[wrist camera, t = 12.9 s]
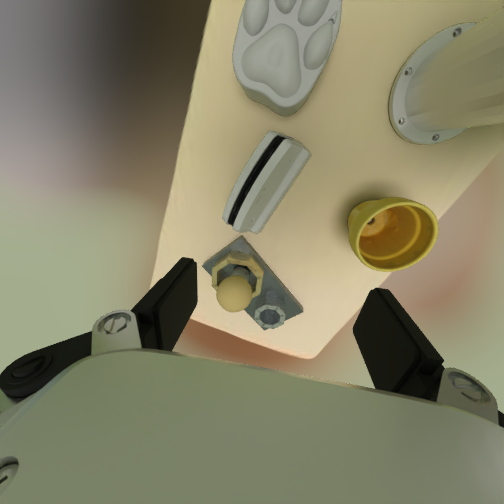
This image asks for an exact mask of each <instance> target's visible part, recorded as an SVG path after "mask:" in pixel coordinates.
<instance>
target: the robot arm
mask: <svg viewBox="0 0 504 504" xmlns="http://www.w3.org/2000/svg"><path fill="white" fill-rule="evenodd" d="M453 35H454V36H453ZM405 72H406V73H407V74H406V75H405ZM389 115H390V121H391V123H392V126H393V128H394V130H395V131H396V132H397V134H398V135H399V136H401V137H402V138H403V139H404V140H406V141H409V142H411V143H415V144H435V143H439V142H442V141H446V140H448V139H450V138H453V137H455V136H457V135H458V134H460V133H461V132H463V131H464V130H466V129H467V128H468V127H475V126H484V125H492V124H500V123H504V7H502V8H501V9H499V10H498V11H496V12H494V13H493V14H491V15H490V16H488V17H487V18H485V19H484V20H482V21H481V22H479V23H473V22H472V23H461V24H457V25H454V26H451V27H448V28H446V29H444V30H442V31H440V32H438V33H437V34H435V35H434V36H432V37H431V38H430V39H428V40H427V41H426V42H424V43H423V44H422V45H421V46H420V47H418V48H417V49H416V50H415V52H414V53H413V54H412V55H411V56H410V57H409V58H408V59H407V61H406V62H405V64H404V65H403V67H402V68H401V70H400V72H399V73H398V75H397V77H396V79H395V82H394V85H393V87H392V90H391V95H390V100H389ZM399 120H400V123H399V124H398V121H399ZM432 137H433V139H432ZM197 301H198V297H197V263H196V262H194V260H193V259H191V258H185V257H182V258H181V259H180V260H179V261H178V262H177V263H176V264H175V265H174V267H173V268H172V269H171V270H170V271H169V272H168V273H167V274H166V275H165V276H164V277H163V278H161V279H160V280H159V281H158V282H157V283H156V284H155V285H154V286H153V287H152V288H151V289H150V290H149V291H148V293H147V294H146V295H145V296H144V297H143V298H142V299H141V300H140V301H139V302H138V303H137V304H136V305H135V306H134V308H133V309H132V310H131V311H129V310H116V311H112V312H110V313H107V314H106V315H104V316H102V317H100V318H99V319H98V320H97V321H96V322H95V324H94V325H93V329H92V331H91V332H88V333H85V334H82V335H79V336H76V337H73V338H70V339H68V340H65V341H62V342H59V343H56V344H53V345H50V346H48V347H45V348H42V349H39V350H36V351H33V352H31V353H28V354H26V355H24V356H22V357H21V358H19V359H17V360H15V361H14V362H13V363H11V364H10V365H9V366H7V367H6V369H5V370H4V371H3V372H2V373H1V374H0V504H504V414H503V413H501V412H500V411H498V407H497V402H496V399H495V398H494V396H493V394H492V393H491V392H490V391H489V390H488V389H487V388H486V387H485V386H484V385H483V384H482V383H481V382H480V381H478V380H477V379H475V378H474V377H472V376H471V375H470V374H468V373H466V372H464V371H462V370H458V369H456V368H446V369H445V368H444V367H443V366H442V363H443V362H444V359H443V358H442V357H441V356H440V354H439V353H438V352H437V351H436V349H435V348H434V347H433V346H432V344H431V343H430V342H429V340H428V339H427V338H426V337H425V335H424V334H423V333H422V331H421V330H420V329H419V327H418V326H417V325H416V324H415V322H414V321H413V320H412V319H411V317H410V316H409V315H408V313H407V312H406V311H405V310H404V308H403V307H402V306H401V305H400V303H399V302H398V301H397V299H396V298H395V297H394V295H393V294H392V293H391V292H390V291H389V290H388V289H382V288H375V289H374V290H371V291H370V292H369V294H368V296H367V298H366V300H365V303H364V305H363V307H362V309H361V311H360V314H359V315H358V318H357V320H356V322H355V324H354V326H353V334H354V336H355V339H356V341H357V344H358V346H359V349H360V351H361V354H362V356H363V359H364V361H365V364H366V366H367V369H368V371H369V374H370V376H371V379H372V381H373V384H374V386H375V389H373V388H368V387H363V386H357V385H352V384H347V383H342V382H337V381H331V380H327V379H321V378H316V377H311V376H305V375H300V374H295V373H290V372H284V371H279V370H274V369H268V368H263V367H257V366H252V365H246V364H241V363H236V362H230V361H225V360H219V359H213V358H208V357H202V356H196V355H190V354H184V353H177V352H172V349H173V348H174V346H175V344H176V342H177V340H178V339H179V337H180V335H181V333H182V331H183V329H184V328H185V326H186V324H187V322H188V320H189V318H190V316H191V315H192V313H193V311H194V309H195V307H196V305H197Z"/></svg>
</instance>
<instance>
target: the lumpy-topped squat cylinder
mask: <svg viewBox="0 0 504 504" xmlns="http://www.w3.org/2000/svg"><path fill="white" fill-rule="evenodd" d="M341 10H342V0H246V1H245V4H244V7H243V10H242V14H241V17H240V21H239V25H238V30H237V34H236V38H235V42H234V47H233V57H232V60H233V68H234V72H235V75H236V77H237V80H238V81H239V83H240V85H241V86H242V88H243V90H244V91H245V93H246V95H247V96H248V97H249V98H250V99H251V100H253V101H255V102H258V103H261V104H264V105H266V106H268V107H269V108H271V109H272V110H273V111H274V112H275V113H277V114H279V115H281V116H289V115H292V114H294V113H295V112H297V111H298V110H299V109H300V108H301V107H302V105H303V104H304V102H305V101H306V99H307V97H308V96H309V94H310V92H311V91H312V89H313V87H314V85H315V83H316V81H317V79H318V77H319V75H320V74H321V72H322V70H323V68H324V66H325V64H326V62H327V59H328V57H329V55H330V53H331V50H332V48H333V46H334V43H335V41H336V38H337V35H338V32H339V27H340V20H341Z"/></svg>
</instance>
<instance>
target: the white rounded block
mask: <svg viewBox="0 0 504 504" xmlns="http://www.w3.org/2000/svg"><path fill="white" fill-rule="evenodd" d="M310 157H311V154H310V153H309V152H308V151H307V150H306V148H305V147H304V146H303V145H302V144H301V143H299V142H296V141H293V138H291V137H288V136H285V135H283V134H280V133H277V132H274V131H269V132H268V133H267V134H266V136H265V137H264V139H263V140H262V141H261V143H260V144H259V145H258V147H257V148H256V150H255V151H254V153H253V155H252V156H251V158H250V159H249V161H248V162H247V164H246V166H245V167H244V169H243V171H242V173H241V175H240V176H239V178H238V180H237V182H236V184H235V186H234V188H233V190H232V192H231V195H230V197H229V199H228V202H227V204H226V207H225V210H224V213H223V216H222V219H223V220H224V221H225V222H226V224H230V225H232V227H233V229H234V230H235V231H237V232H239V233H240V232H247V231H251V232H254V233H259V232H261V230H262V229H263V227H264V226H265V224H266V223H267V221H268V220H269V218H270V217H271V215H272V214H273V212H274V211H275V209H276V208H277V206H278V205H279V203H280V202H281V200H282V199H283V197H284V196H285V194H286V193H287V191H288V190H289V188H290V187H291V185H292V184H293V182H294V181H295V179H296V178H297V176H298V175H299V173H300V172H301V170H302V169H303V167H304V166H305V164H306V163H307V161H308V160H309V158H310Z"/></svg>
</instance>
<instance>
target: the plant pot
mask: <svg viewBox="0 0 504 504" xmlns="http://www.w3.org/2000/svg"><path fill="white" fill-rule="evenodd" d="M372 218H373V222H372V223H370V224H368V222H369V221H370V220H371V219H372ZM348 227H349V230H350V231H349V242H350V246H351V248H352V250H353V251H354V253H355V254H356V256H357V257H358V258H359V260H360V261H361V262H362V263H363V264H364V265H366V266H367V267H369V268H371V269H374V270H377V271H382V272H392V271H398V270H402V269H405V268H407V267H410V266H412V265H414V264H415V263H417V262H418V261H420V260H421V259H423V258H424V257H425V256H426V255H427V254H428V253H429V251H430V250H431V249H432V247H433V246H434V244H435V242H436V239H437V236H438V230H439V228H438V221H437V218H436V216H435V215H434V213H433V212H432V211H431V210H430V209H429V208H428V207H426V206H425V205H423V204H420V203H418V202H415V201H412V200H409V199H405V198H400V197H390V198H384V199H380V200H370V201H365V202H363V203H361V204H359V205H357V206H356V207H355V208H354V209H353V210H352V211H351V213H350V215H349V218H348Z"/></svg>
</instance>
